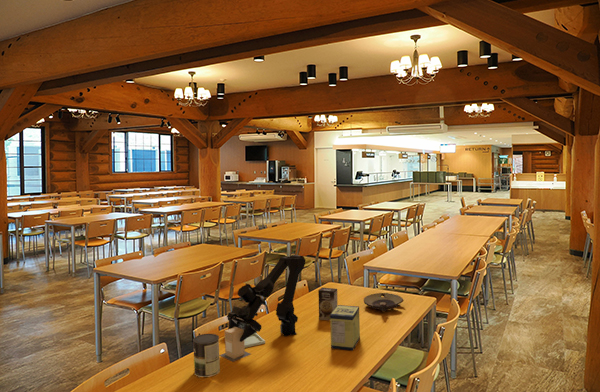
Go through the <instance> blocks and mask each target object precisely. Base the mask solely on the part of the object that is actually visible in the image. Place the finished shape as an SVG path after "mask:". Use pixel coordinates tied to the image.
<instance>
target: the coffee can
mask: <svg viewBox="0 0 600 392" xmlns="http://www.w3.org/2000/svg"><path fill="white" fill-rule="evenodd" d="M219 341H220V337H219V335H218V334H216V333H202V334H198V335H196V336H195V337H194V338H193V339H192V342H193V343H192V344H193V345H192V346H193V363H194V364H193V365H194V367H193V369H194V373H195V374H194V376H195V375H196V376H195V377H197V376H198V377H197V378H200V377H208V378H209V377H213V376H216V375H218V374H219V373H220V371H221V368H220V356H219V355H220V346H219V345H220V344H219Z"/></svg>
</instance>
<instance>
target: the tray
mask: <svg viewBox="0 0 600 392" xmlns="http://www.w3.org/2000/svg"><path fill="white" fill-rule="evenodd" d="M244 344H245V349H246V348H251V347H255V346H260V345H265V344H266V340H265V339H264V338H263V337H261V336H260V335H259V334H258V332H257V333H254V334H253V335H251V336H249V337H248V338H246V339H245V340H244Z"/></svg>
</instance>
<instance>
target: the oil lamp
mask: <svg viewBox="0 0 600 392" xmlns="http://www.w3.org/2000/svg"><path fill="white" fill-rule="evenodd" d="M403 298H404V297H402V296H400V295H398V294H395V293H388V292H378V293H377V292H376V293H371V294H369V295H366V296H365V297H364V298H363V303H364V304H365V305H366V306H368V307H370V308H372V309H375V310H379V311H381V312H386V311H388V310H389V311H390V310H392V309H396V308H398V307H400V306H401V303H403V302H404V299H403Z"/></svg>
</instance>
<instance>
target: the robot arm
mask: <svg viewBox="0 0 600 392" xmlns="http://www.w3.org/2000/svg"><path fill="white" fill-rule="evenodd" d="M305 265H306V258H305V256H303V255H298V254H291V255H289V256H281V257H279V260H278V261H277V262H276V264H275V265H274V267H272V269H271V271H270V272H269V273H268V274H267V276H265V278H263V279H261V280H260V281H259V282H258V283H256V284H255V286H253V287H252V285H251V284H249V283H245V285H243V286H241V287H240V288H238V290H237V296H238V297H239V298H240V299H242V300H243V301H244V302H245V303H247V304H246V305H243V306H242V307H240V306H235V305H234V306H232V310H231V311H229V312H230V313H229V312H228V314H227V315H226V318H227V320H228V328H227V330H228V329H231V328H234V327H238V326H239V325H237V324H240V323H243V324H246V325H245V331H244V333H243V334H242V336H241V338H240V342H242V341H244V340H245V339H246V338H248V337H249V336H251V335H253V334H254V333H257V334H258V333H259V332H261V330H262V324H260V322H259V321H257V320H256V319H254V318H255V317H258V315H259V314H258V312H259V310H260V308H261V307H262V305H263V306H266V305H267V302H266V298H269V297H270V296H271V294H272V293H273V291H274V288H275V283H277V281H278V280H279V278H280V277H281V275H282V274H283V273H284V272H285V271H286V269H288V277H287V281H286V285H285V290H284V294H283V298H282V301H281V302H278V303H277V305H276V309H275V315H276V317H277V318H278V319H277V320H278V321H280V327H279V328H280V331H279V332H280V334H282V336H283V337H289V336H294V335H297V332H296V323H298V320H299V317H298V316H297V315H296V314H295V306H294V297H295V293H296V290H297V285H298V281H299V275H300V273H301V272H302V271H303V270H304V267H305ZM262 297H263V298H262ZM237 315H238V316H237Z"/></svg>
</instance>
